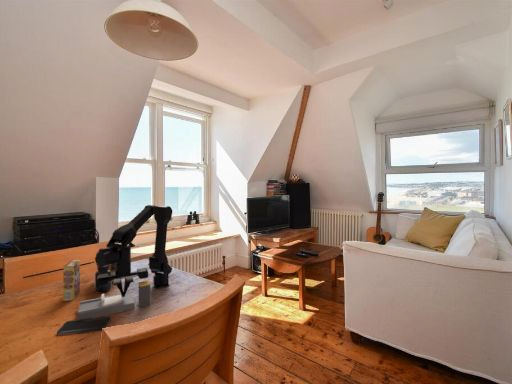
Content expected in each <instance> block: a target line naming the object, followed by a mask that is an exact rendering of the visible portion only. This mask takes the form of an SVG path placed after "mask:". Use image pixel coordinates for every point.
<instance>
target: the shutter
mask: <svg viewBox="0 0 512 384" xmlns="http://www.w3.org/2000/svg"><path fill="white" fill-rule="evenodd" d="M116 295H117V294H116ZM111 296H112V295H111ZM101 297H102V299H101V303H102V306H106V305H111V304H116V303H121V302H122V300H121V295H117V296H112V297H107V296H106V297H107V298H104V297H105V293H101Z"/></svg>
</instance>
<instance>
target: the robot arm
mask: <svg viewBox="0 0 512 384" xmlns="http://www.w3.org/2000/svg"><path fill="white" fill-rule="evenodd" d="M152 217H154V220H155V223H156V231H155V242H154V243H155V244H154V251H153V252H154V253H153V254H152V255H151V256H149V258H148V264H147V266H149V267H148V268H149V269H148V268H146V267H143V268H137V269H136V271H133V272H132V259H131V258H132V249H131V248H134V247H136V245H135V243H133V241H134V239H135V238H136V236H137V233H138V231H139V230H140V229H141V228H142V227H143V226H144V225H145V224H146V223H147V222H148V220H150V219H151V218H152ZM172 217H173V209H172V207H171V206H169V205H158V206H157V205H154V204H152V205H151V204H147V205H145V206H144V208H143V209H142V210H141V211H140V212H139V213H138V214H137V215H136V216H135V217H134V218H132V219H131V220H130V221H129V222H127V224H124V225H121V226H120V227H118V228H117V229H115V230H114V231H113V232H112V236H111V237H110V239H109V241H108V242H107V244H106V247H104V248H99V249H98V251H99V252H98V253H97V255H96V254H95V258H94V259H95V260H94V261H95V264H96V266H97V265H98V266H99V267H104V266H107V265H110V264H111V271H114V270H115V275H112V276H108V273H107V274H101V275H98V276H97V286H102V285H106V284H107V283H108V281H111V280H113V282H112V283H113V285H112V286H116V287H117V288H118V290H119V292H120V294H121V295H122V297H125V294H126V293H127V291H128V289H129V287H130V286H131V283H134V278H136V277H138V279H140V280H143V279H148V278H149V271H148V270H150V272H151V274H153V276H152V281H153V283H152V284H153V286H154V288H155V289H159V288H164V287H169V286H170V283H169V275H170V274H171V273H172V270H173V267H172V266H171V265H169V259H168V258H169V257H168V256H167V254H166V247H167V234H168V233H167V231H168V224H169V223H170V221H171V220H172ZM122 280H124V283H122ZM123 284H124V285H123Z"/></svg>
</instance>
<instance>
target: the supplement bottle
mask: <svg viewBox="0 0 512 384" xmlns="http://www.w3.org/2000/svg"><path fill="white" fill-rule="evenodd" d="M96 270H97V271H95V273H94V292H95V293H98V294H104V293H107V292H109V291H111V289H112V283H113V282H112V280H111V281H108V283H107V284H106V285H102V286H97V276H98V275H101V274H107V273H108V276H112V272H111V270H109V265H107V266H104V267H99V266H98V267H97V266H96Z"/></svg>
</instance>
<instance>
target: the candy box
mask: <svg viewBox="0 0 512 384" xmlns="http://www.w3.org/2000/svg"><path fill="white" fill-rule="evenodd" d="M62 278H63V279H62V281H63V282H62V301H63V302H67V301H74V300H75V298H76V297H77V296H78V294H79V293H80V292H81V289H80V288H81V287H80V286H81V260H80V259H74V260H69V261H68V262H66V264H65V265H63V276H62Z"/></svg>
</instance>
